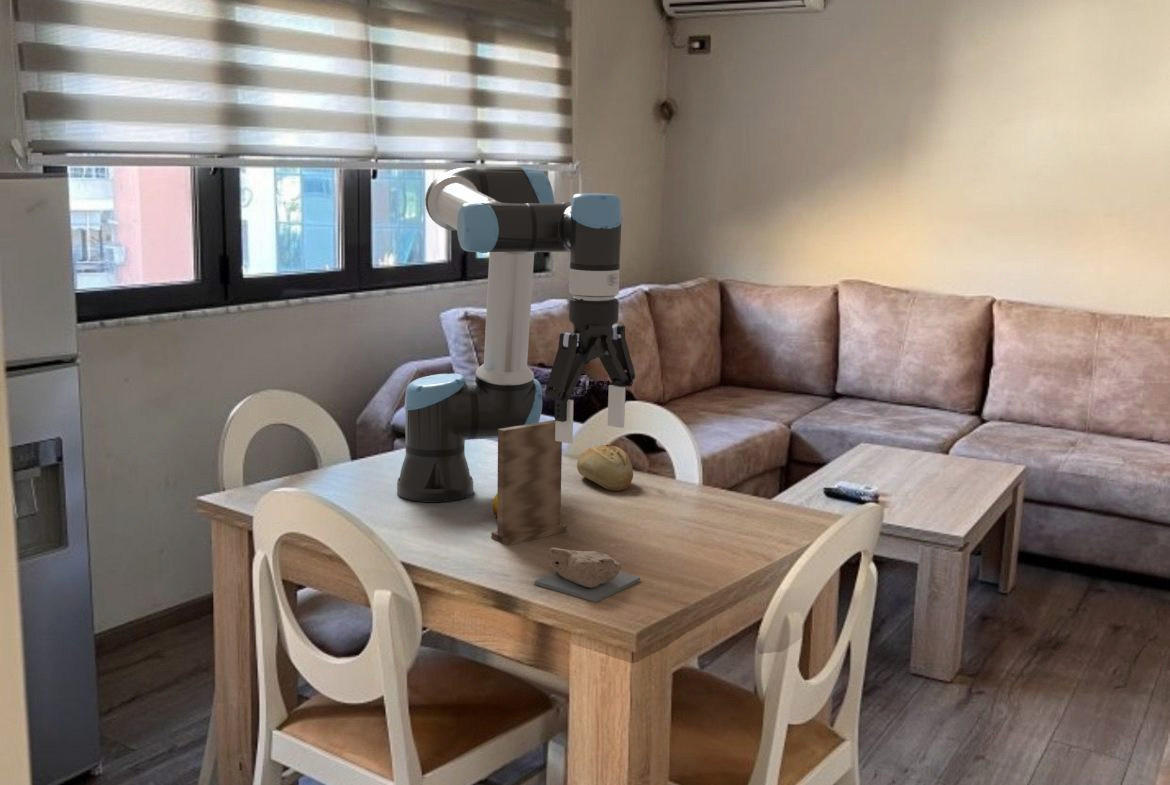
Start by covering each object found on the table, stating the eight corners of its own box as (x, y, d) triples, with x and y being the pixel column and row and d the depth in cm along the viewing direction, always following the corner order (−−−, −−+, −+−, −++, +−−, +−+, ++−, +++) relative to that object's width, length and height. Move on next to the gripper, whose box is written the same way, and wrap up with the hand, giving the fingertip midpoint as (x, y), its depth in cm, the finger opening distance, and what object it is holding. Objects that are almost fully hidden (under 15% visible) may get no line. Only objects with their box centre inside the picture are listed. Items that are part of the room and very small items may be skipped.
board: (508, 545, 203) (509, 432, 199) (491, 537, 207) (492, 427, 203) (566, 531, 212) (568, 422, 208) (548, 524, 215) (550, 417, 212)
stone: (580, 593, 179) (581, 562, 179) (542, 571, 189) (543, 541, 188) (628, 583, 184) (629, 553, 183) (589, 562, 194) (590, 534, 193)
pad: (534, 584, 185) (534, 580, 185) (580, 564, 194) (580, 561, 194) (596, 602, 178) (596, 598, 178) (640, 580, 187) (640, 577, 187)
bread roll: (603, 472, 253) (603, 436, 251) (645, 489, 241) (646, 451, 239) (565, 478, 247) (566, 441, 246) (606, 496, 235) (607, 457, 234)
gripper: (563, 306, 165) (560, 453, 170) (660, 292, 185) (655, 423, 189) (522, 301, 170) (520, 444, 174) (620, 288, 189) (616, 416, 194)
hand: (590, 434), depth 182 cm, fingers open, 13 cm apart
